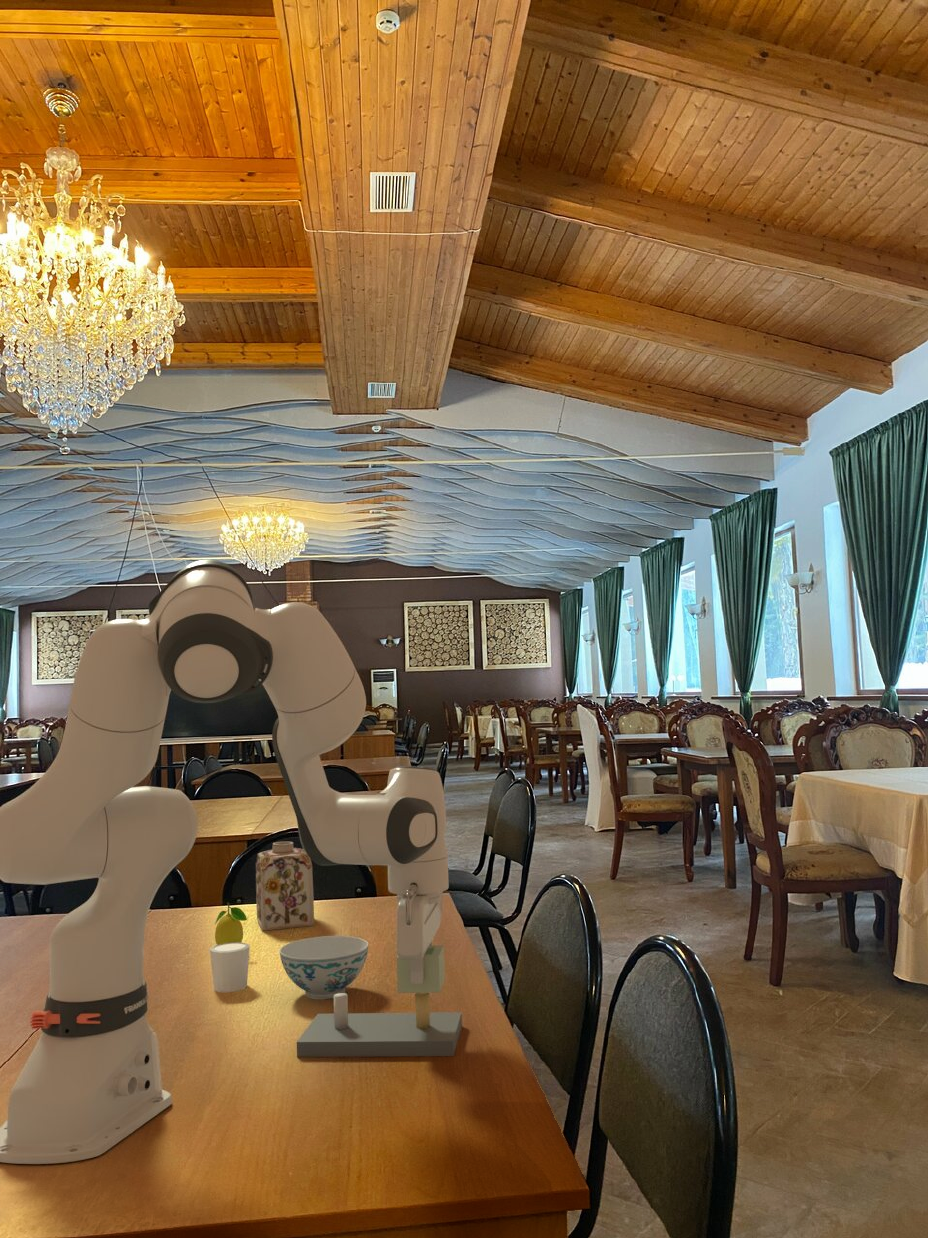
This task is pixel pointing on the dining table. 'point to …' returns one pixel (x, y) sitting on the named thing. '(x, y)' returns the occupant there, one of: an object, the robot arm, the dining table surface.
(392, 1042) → the stand board
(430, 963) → the collar block
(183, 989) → the dining table surface
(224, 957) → the shot glass
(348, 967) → the chinaware
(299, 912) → the decorative jar
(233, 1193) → the dining table surface
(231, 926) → the lemon
